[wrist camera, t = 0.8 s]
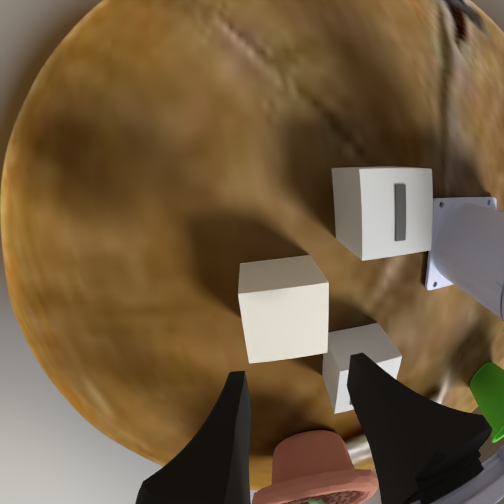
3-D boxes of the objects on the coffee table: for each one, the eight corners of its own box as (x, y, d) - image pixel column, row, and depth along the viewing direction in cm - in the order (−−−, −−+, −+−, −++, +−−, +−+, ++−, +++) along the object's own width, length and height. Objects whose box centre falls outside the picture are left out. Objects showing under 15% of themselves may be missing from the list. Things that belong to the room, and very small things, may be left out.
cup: (496, 373, 26) (529, 411, 15) (457, 405, 27) (487, 450, 17) (503, 339, 24) (545, 379, 13) (460, 376, 25) (499, 428, 14)
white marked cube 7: (377, 322, 21) (402, 356, 16) (370, 364, 23) (390, 399, 18) (323, 332, 21) (340, 372, 16) (322, 374, 23) (334, 414, 18)
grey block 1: (392, 166, 17) (432, 168, 12) (394, 231, 19) (431, 250, 14) (331, 168, 17) (360, 169, 13) (335, 238, 19) (362, 261, 14)
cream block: (309, 254, 19) (328, 282, 14) (311, 314, 21) (327, 352, 16) (240, 262, 19) (237, 293, 15) (248, 322, 21) (249, 363, 16)
